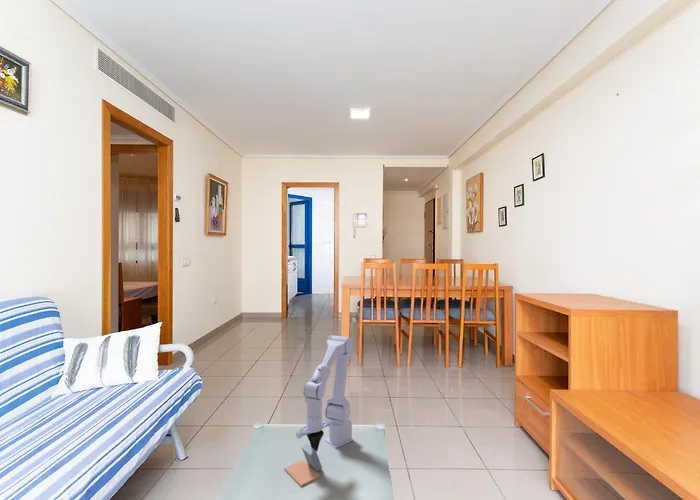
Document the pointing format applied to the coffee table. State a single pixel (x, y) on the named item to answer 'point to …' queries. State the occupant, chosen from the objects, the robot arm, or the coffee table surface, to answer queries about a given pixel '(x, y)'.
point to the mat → (302, 473)
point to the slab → (311, 457)
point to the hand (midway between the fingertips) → (314, 450)
